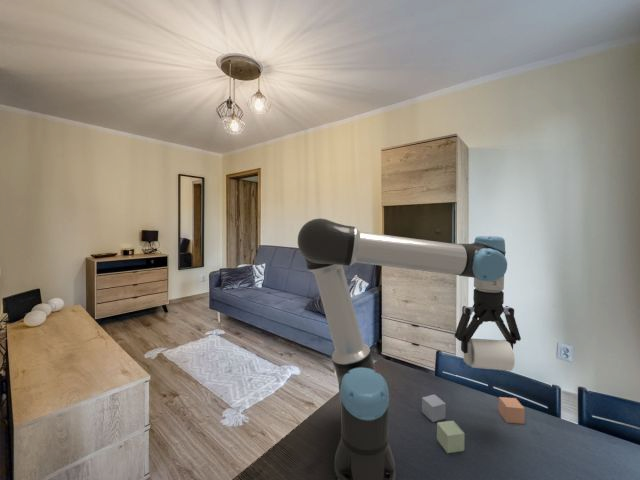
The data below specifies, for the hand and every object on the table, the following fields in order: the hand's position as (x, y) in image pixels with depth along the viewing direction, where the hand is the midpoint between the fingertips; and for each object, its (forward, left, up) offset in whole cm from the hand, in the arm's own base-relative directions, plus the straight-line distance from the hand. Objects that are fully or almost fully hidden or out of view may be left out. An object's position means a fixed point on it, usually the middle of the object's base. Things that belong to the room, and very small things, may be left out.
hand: (486, 363), depth 82 cm
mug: (0, 0, -1) cm, 1 cm away
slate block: (-13, +6, -20) cm, 25 cm away
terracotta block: (+11, +5, -20) cm, 24 cm away
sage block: (-13, -6, -20) cm, 25 cm away
